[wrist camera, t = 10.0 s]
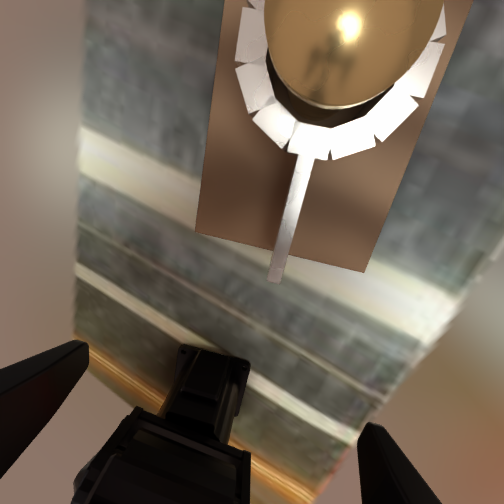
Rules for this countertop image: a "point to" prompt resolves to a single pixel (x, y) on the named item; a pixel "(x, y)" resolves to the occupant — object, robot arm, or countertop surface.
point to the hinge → (311, 136)
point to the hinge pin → (345, 48)
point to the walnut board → (322, 174)
